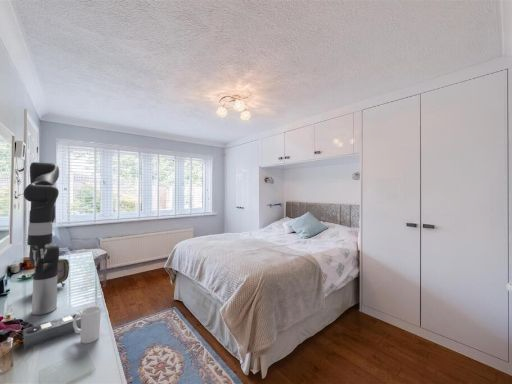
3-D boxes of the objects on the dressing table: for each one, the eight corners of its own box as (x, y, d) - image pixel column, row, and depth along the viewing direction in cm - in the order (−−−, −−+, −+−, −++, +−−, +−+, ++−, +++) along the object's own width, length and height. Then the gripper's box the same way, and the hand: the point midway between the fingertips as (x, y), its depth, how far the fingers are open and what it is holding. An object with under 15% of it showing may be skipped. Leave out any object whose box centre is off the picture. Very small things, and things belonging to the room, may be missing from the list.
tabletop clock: (43, 295, 134) (45, 251, 134) (31, 293, 136) (32, 250, 136) (68, 285, 148) (69, 246, 148) (57, 283, 150) (58, 245, 150)
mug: (103, 333, 101) (103, 305, 101) (94, 343, 94) (95, 314, 94) (77, 334, 99) (78, 306, 99) (67, 345, 93) (68, 315, 93)
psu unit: (22, 341, 94) (23, 328, 94) (82, 321, 109) (83, 310, 109) (24, 349, 89) (25, 336, 89) (87, 327, 105) (87, 315, 105)
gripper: (55, 234, 96) (54, 275, 96) (48, 229, 104) (47, 267, 104) (30, 236, 90) (29, 280, 90) (25, 231, 98) (24, 272, 98)
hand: (38, 273), depth 97 cm, fingers closed
